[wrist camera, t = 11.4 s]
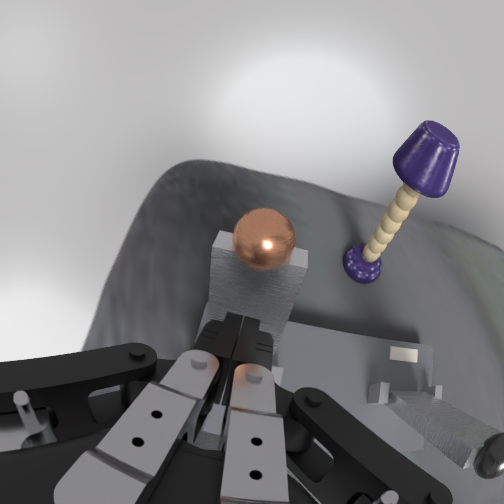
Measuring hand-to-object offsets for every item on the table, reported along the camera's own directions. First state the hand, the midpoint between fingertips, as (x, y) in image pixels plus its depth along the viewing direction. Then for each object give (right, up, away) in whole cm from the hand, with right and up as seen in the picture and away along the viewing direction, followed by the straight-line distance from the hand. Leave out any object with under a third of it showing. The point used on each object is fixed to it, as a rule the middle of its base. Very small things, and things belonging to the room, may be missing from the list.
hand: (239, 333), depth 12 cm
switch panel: (+6, -8, +9) cm, 13 cm away
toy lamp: (+12, +2, +16) cm, 20 cm away
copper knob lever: (-1, -5, +7) cm, 9 cm away
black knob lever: (+13, -8, +6) cm, 17 cm away
